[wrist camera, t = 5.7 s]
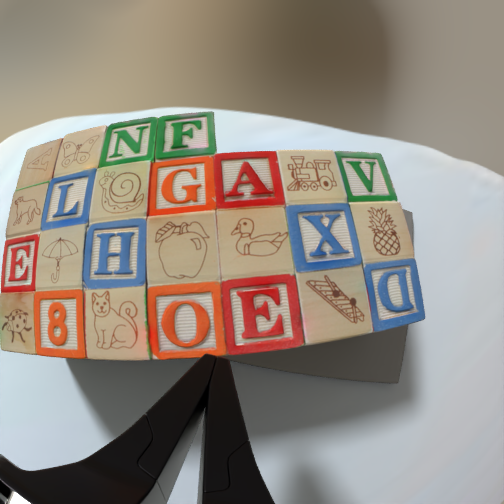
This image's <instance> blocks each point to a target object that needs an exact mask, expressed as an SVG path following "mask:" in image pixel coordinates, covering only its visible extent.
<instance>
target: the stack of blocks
mask: <svg viewBox="0 0 504 504" xmlns="http://www.w3.org/2000/svg"><path fill="white" fill-rule="evenodd" d="M424 319H425V311H424V305H423V298H422V292H421V286H420V281H419V275H418V270H417V265H416V261H415V259H414V250H413V246H412V242H411V238H410V234H409V230H408V226H407V223H406V220H405V216H404V213H403V209H402V206H401V204H400V202H397V196H396V193H395V189H394V186H393V184H392V181H391V178H390V175H389V173H388V170H387V167H386V165H385V162H384V160H383V157H382V155H381V154H379V153H367V152H350V151H335V152H334V151H332V150H277V151H255V152H233V153H220V154H218V153H217V149H216V139H215V125H214V112H199V113H187V114H177V115H168V116H162V117H160V118H157V117H149V118H143V119H136V120H130V121H125V122H118V123H114V124H111V125H109V126H108V127H107V126H106V125H105V126H99V127H94V128H90V129H86V130H82V131H78V132H74V133H71V134H67V135H66V136H65V137H64V138H60V139H57V140H54V141H50V142H47V143H45V144H42V145H38V146H35V147H32V148H30V149H28V150H27V152H26V155H25V158H24V161H23V165H22V168H21V171H20V175H19V179H18V183H17V187H16V190H15V192H14V195H13V199H12V204H11V207H10V213H9V218H8V223H7V228H6V241H5V247H4V254H3V264H2V276H1V294H0V345H1V350H4V351H10V352H17V353H24V354H32V355H40V356H49V357H60V358H74V359H94V360H168V359H186V358H201V357H202V356H203V355H204V354H205V353H208V354H212V355H215V356H216V357H218V356H227V355H241V354H252V353H261V352H269V351H277V350H284V349H290V348H297V347H301V346H306V345H314V344H320V343H325V342H331V341H336V340H341V339H346V338H351V337H356V336H361V335H365V334H369V333H373V332H379V331H384V330H388V329H392V328H396V327H400V326H404V325H407V324H411V323H415V322H418V321H422V320H424Z"/></svg>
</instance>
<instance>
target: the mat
mask: <svg viewBox="0 0 504 504" xmlns="http://www.w3.org/2000/svg"><path fill="white" fill-rule="evenodd" d="M403 213H404V216H405V220H406V223H407V226H408V230H409V234H410V238H411V242H412V246H413V220H412V212H409V211H407V210H404V209H403ZM407 326H408V324H407V325H404V326H400V327H396V328H392V329H388V330H384V331H379V332H373V333H369V334H365V335H361V336H356V337H351V338H346V339H341V340H336V341H331V342H325V343H320V344H314V345H306V346H301V347H297V348H290V349H284V350H277V351H269V352H261V353H252V354H241V355H227V356H220V357H225V358H228V359H229V360H231V361H235V362H240V363H245V364H249V365H254V366H259V367H264V368H270V369H275V370H281V371H287V372H293V373H299V374H306V375H313V376H320V377H328V378H336V379H346V380H356V381H367V382H381V383H398V381H399V376H400V371H401V366H402V360H403V354H404V348H405V341H406V334H407Z"/></svg>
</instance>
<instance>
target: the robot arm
mask: <svg viewBox="0 0 504 504" xmlns="http://www.w3.org/2000/svg"><path fill="white" fill-rule="evenodd" d="M205 407H206V408H205ZM204 411H205V415H204V424H203V435H202V446H201V458H200V471H199V484H198V499H197V504H275V503H274V501H273V499H272V497H271V495H270V493H269V491H268V489H267V487H266V484H265V482H264V480H263V478H262V476H261V474H260V471H259V469H258V466H257V464H256V461H255V458H254V455H253V452H252V448H251V445H250V441H248V440H249V438H248V434H247V430H246V427H245V423H244V419H243V415H242V411H241V407H240V403H239V399H238V395H237V391H236V387H235V382H234V378H233V374H232V370H231V365H230V361H229V359H228V358H225V357H220V356H218V357H216V356H215V355H212V354H208V353H205V354H204V355H203V356H202V357H201V358H200V359H199V360H198V361H197V362H196V363H195V364H194V365H193V366H192V367H191V368H190V369H189V370H188V371H187V372H186V373H185V374H184V375H183V376H182V377H181V378H180V379H179V380H178V381H177V382H176V383H175V384H174V385H173V386H172V387H171V388H170V389H169V390H168V391H167V392H166V393H165V394H164V395H163V396H162V397H161V398H160V399H159V400H158V401H157V402H156V403H155V404H154V405H153V406H152V407H151V408H150V409H149V410H148V411H147V412H146V415H145V414H144V415H143V416H142V417H141V418H140V419H139V420H138V421H137V422H136V423H135V424H133V425H132V426H131V427H130V428H129V429H128V430H126V431H125V432H124V433H123V434H121V435H120V436H119V437H117V438H116V439H114V440H113V441H112V442H110V443H109V444H107V445H106V446H104V447H103V448H101V449H100V450H98V451H97V452H95V453H94V454H92V455H91V456H89V457H87V458H85V459H83V460H81V461H78V462H75V463H71V464H67V465H62V466H58V467H53V468H47V469H42V470H36V471H26V470H22V469H20V468H19V467H17V466H16V465H15V464H13V463H12V462H11V461H9V460H8V459H7V458H5V457H4V456H3V455H1V454H0V504H167V501H168V499H169V497H170V494H171V492H172V490H173V487H174V485H175V482H176V480H177V478H178V475H179V473H180V470H181V468H182V465H183V463H184V461H185V458H186V456H187V453H188V451H189V448H190V446H191V443H192V441H193V438H194V436H195V434H196V431H197V429H198V426H199V424H200V421H201V419H202V416H203V413H204Z"/></svg>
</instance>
